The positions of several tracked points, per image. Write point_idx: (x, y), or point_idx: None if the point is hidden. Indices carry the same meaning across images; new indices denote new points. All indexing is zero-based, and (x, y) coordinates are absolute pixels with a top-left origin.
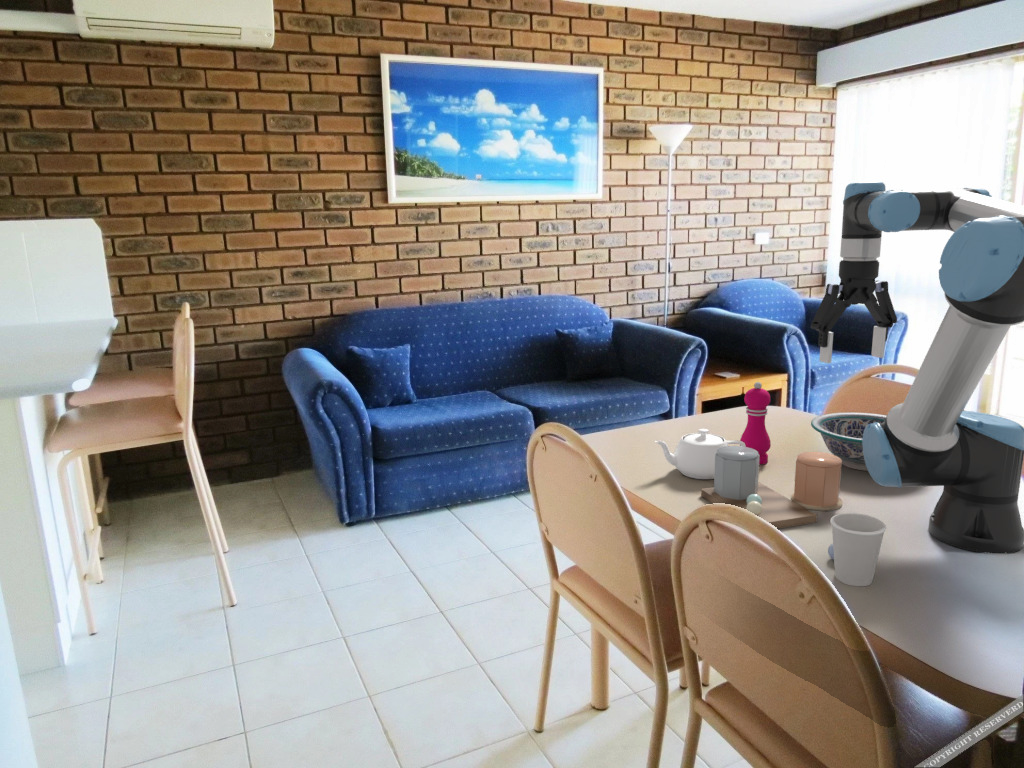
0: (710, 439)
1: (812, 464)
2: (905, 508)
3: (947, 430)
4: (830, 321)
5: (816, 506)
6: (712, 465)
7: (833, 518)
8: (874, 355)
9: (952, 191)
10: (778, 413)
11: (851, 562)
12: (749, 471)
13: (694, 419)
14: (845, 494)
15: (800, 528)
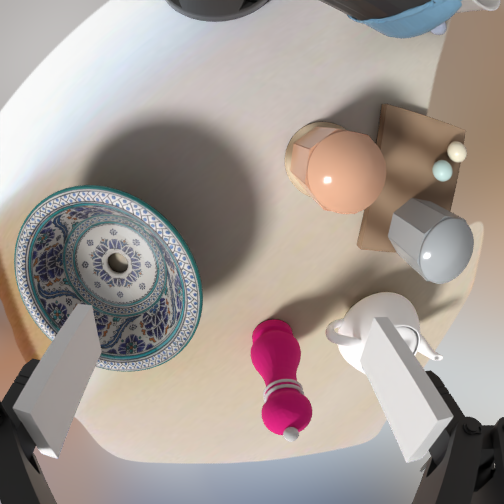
0: None
1: (382, 155)
2: (216, 76)
3: None
4: (477, 469)
5: None
6: (401, 299)
7: (494, 7)
8: (97, 340)
9: None
10: (111, 438)
11: None
12: (443, 211)
13: (225, 458)
14: (256, 162)
15: (411, 103)
